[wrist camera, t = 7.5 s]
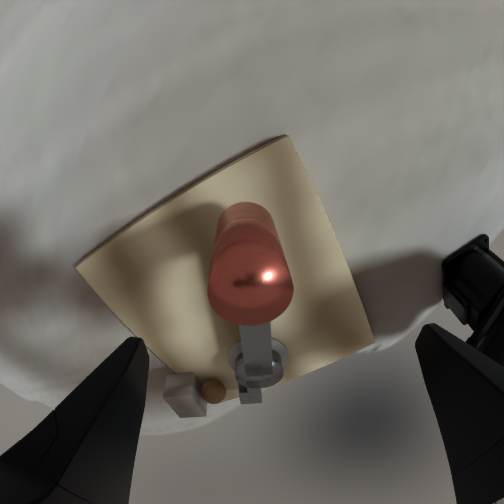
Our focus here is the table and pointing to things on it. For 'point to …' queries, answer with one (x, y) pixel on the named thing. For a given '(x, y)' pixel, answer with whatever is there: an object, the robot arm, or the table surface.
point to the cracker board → (198, 269)
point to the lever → (250, 291)
